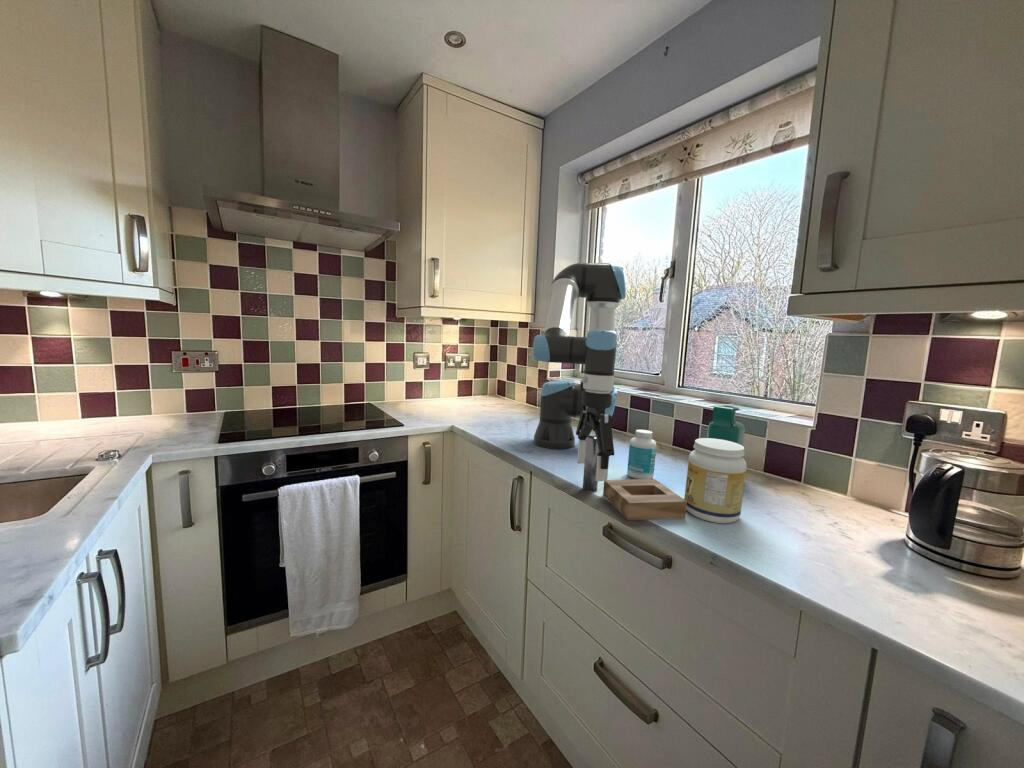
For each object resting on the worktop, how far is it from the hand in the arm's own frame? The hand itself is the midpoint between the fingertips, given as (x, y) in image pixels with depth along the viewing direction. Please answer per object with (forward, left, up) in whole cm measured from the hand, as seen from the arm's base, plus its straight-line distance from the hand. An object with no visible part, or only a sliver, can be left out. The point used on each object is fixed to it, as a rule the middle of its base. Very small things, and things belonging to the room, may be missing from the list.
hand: (591, 471), depth 108 cm
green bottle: (-6, +43, -5) cm, 44 cm away
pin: (0, 0, -5) cm, 5 cm away
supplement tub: (+16, +24, -5) cm, 29 cm away
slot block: (+11, +9, -5) cm, 15 cm away
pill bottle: (-9, +19, -5) cm, 22 cm away
